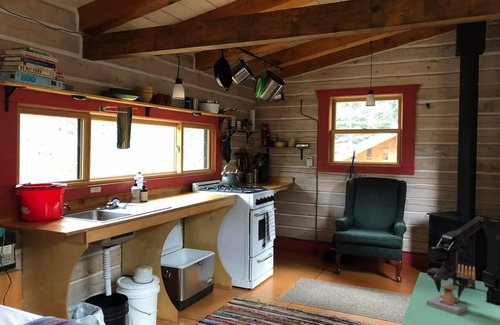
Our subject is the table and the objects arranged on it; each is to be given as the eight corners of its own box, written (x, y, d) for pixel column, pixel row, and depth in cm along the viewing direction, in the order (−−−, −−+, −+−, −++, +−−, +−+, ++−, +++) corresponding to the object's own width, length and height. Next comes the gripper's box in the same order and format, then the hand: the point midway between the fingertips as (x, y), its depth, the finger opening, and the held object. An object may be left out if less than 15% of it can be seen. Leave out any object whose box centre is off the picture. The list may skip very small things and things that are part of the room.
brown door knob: (461, 300, 199) (462, 287, 198) (452, 304, 193) (453, 290, 193) (443, 295, 206) (444, 282, 205) (434, 298, 200) (434, 285, 200)
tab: (453, 307, 190) (454, 294, 189) (449, 308, 187) (450, 295, 187) (447, 305, 192) (448, 292, 192) (443, 306, 190) (443, 293, 189)
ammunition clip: (452, 285, 222) (453, 263, 222) (453, 284, 224) (454, 262, 223) (474, 289, 216) (475, 267, 215) (475, 288, 217) (476, 266, 217)
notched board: (467, 310, 186) (467, 305, 186) (456, 314, 180) (457, 310, 180) (437, 300, 197) (437, 296, 197) (426, 304, 191) (426, 300, 191)
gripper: (421, 259, 192) (420, 292, 192) (462, 268, 177) (460, 304, 177) (434, 256, 198) (432, 288, 199) (474, 265, 184) (472, 299, 184)
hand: (448, 294), depth 189 cm, fingers open, 9 cm apart
